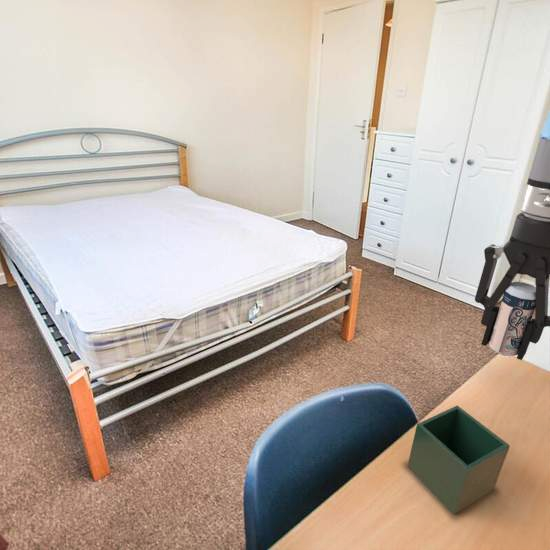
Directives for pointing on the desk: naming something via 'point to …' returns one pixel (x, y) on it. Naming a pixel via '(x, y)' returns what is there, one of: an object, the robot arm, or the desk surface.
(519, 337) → the beer can
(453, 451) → the green open-top box
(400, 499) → the desk surface
